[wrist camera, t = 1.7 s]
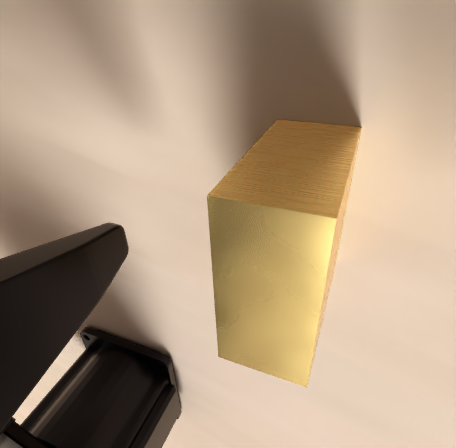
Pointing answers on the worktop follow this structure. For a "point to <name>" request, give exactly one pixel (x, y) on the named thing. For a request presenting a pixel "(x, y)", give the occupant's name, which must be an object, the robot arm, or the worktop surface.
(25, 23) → the worktop surface
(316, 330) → the gold rectangular block
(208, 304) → the worktop surface
